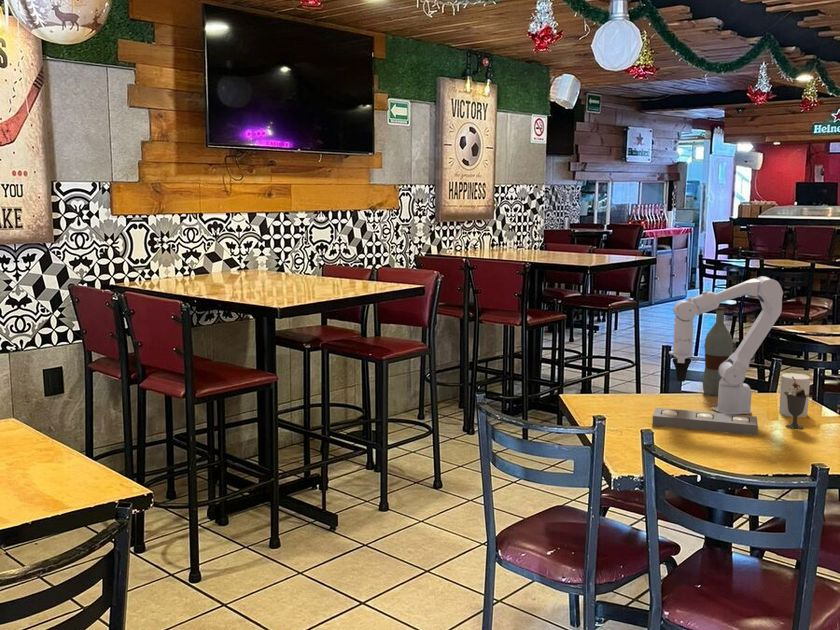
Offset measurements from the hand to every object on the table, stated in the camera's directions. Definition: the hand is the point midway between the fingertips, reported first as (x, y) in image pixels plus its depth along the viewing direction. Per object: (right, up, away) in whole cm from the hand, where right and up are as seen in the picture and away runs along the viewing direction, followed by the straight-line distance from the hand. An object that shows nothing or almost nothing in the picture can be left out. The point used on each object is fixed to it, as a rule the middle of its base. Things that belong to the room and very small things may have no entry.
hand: (681, 381), depth 264 cm
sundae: (+28, -12, -18) cm, 35 cm away
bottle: (+19, -6, +23) cm, 30 cm away
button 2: (+11, -12, -20) cm, 26 cm away
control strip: (+2, -12, -17) cm, 21 cm away
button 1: (-8, -11, -13) cm, 19 cm away
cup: (+34, -10, -3) cm, 36 cm away
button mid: (+2, -12, -17) cm, 20 cm away
